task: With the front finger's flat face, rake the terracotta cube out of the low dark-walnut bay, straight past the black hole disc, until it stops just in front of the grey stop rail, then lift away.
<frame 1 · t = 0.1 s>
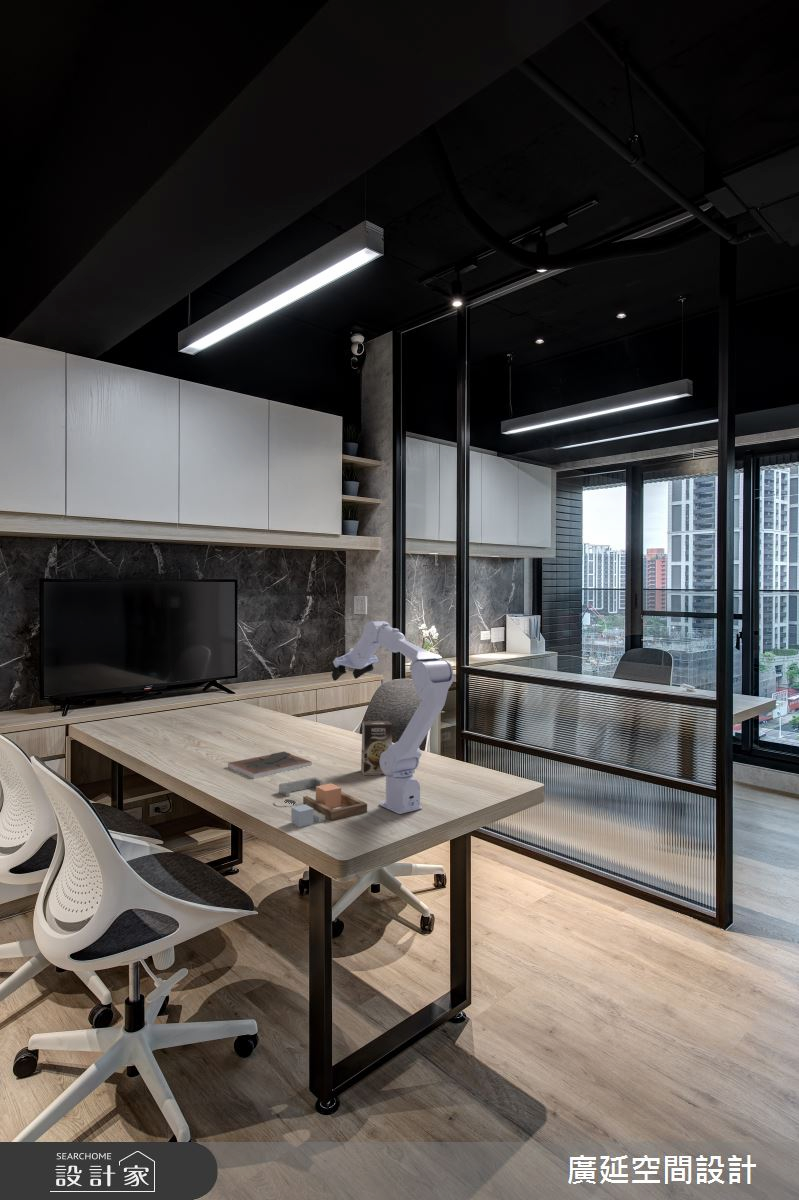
hand: (344, 676, 199), 32 cm above the table, tool tilted 50°, fingers open, 7 cm apart
hole disc: (284, 803, 179), on the table
bay: (334, 808, 176), on the table
coffee box: (376, 772, 210), on the table
steel bar: (309, 816, 170), on the table
slate block: (302, 823, 164), on the table
cube: (328, 805, 178), on the table
picture frame: (270, 769, 214), on the table
stop rail: (298, 789, 191), on the table
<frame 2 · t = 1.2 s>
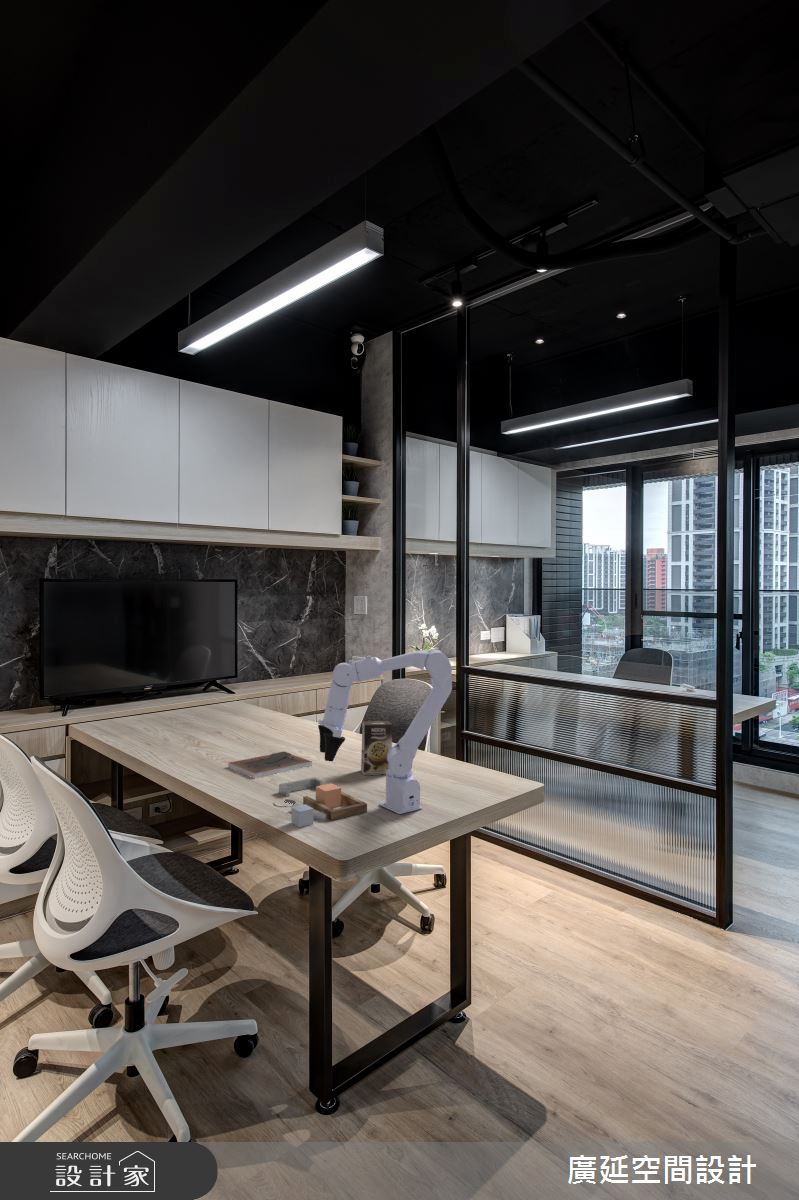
hand: (326, 756, 176), 14 cm above the table, tool pointing down, fingers open, 7 cm apart
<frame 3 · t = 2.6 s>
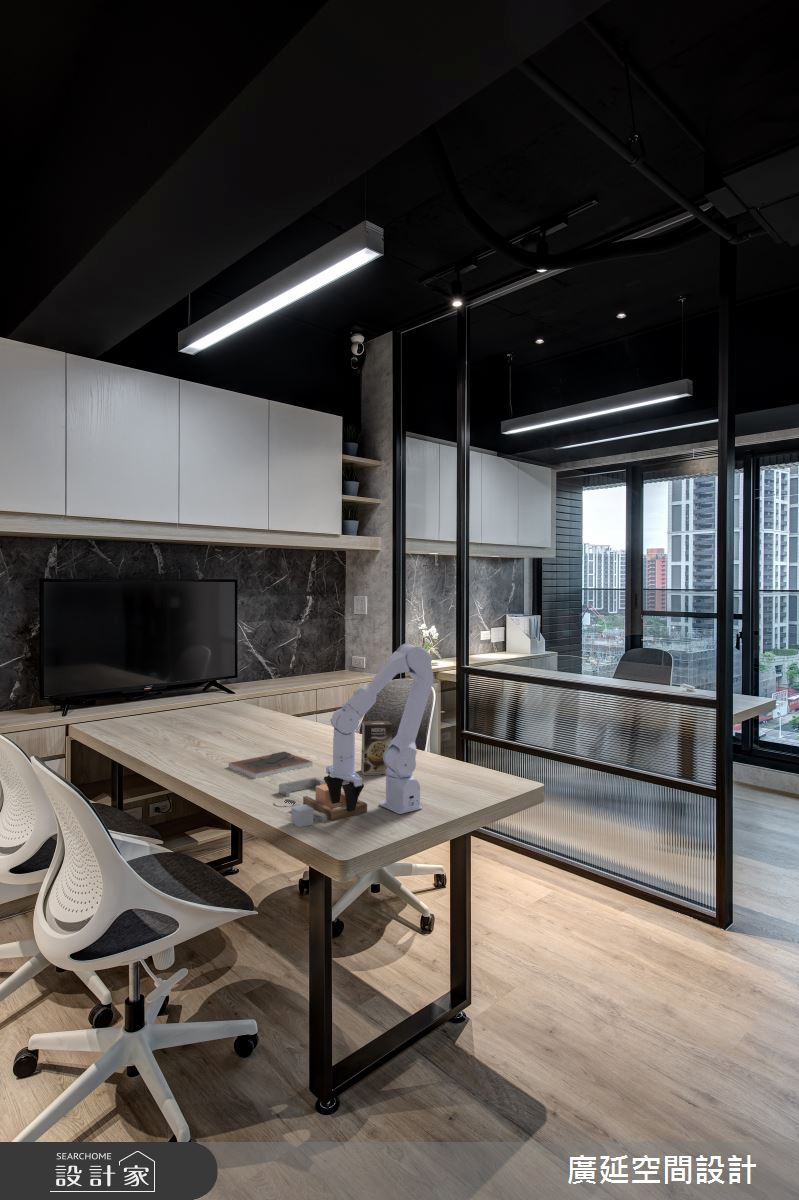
hand: (343, 806, 172), 2 cm above the table, tool pointing down, fingers open, 7 cm apart
cube: (328, 805, 178), on the table, touching gripper
everything else where it was.
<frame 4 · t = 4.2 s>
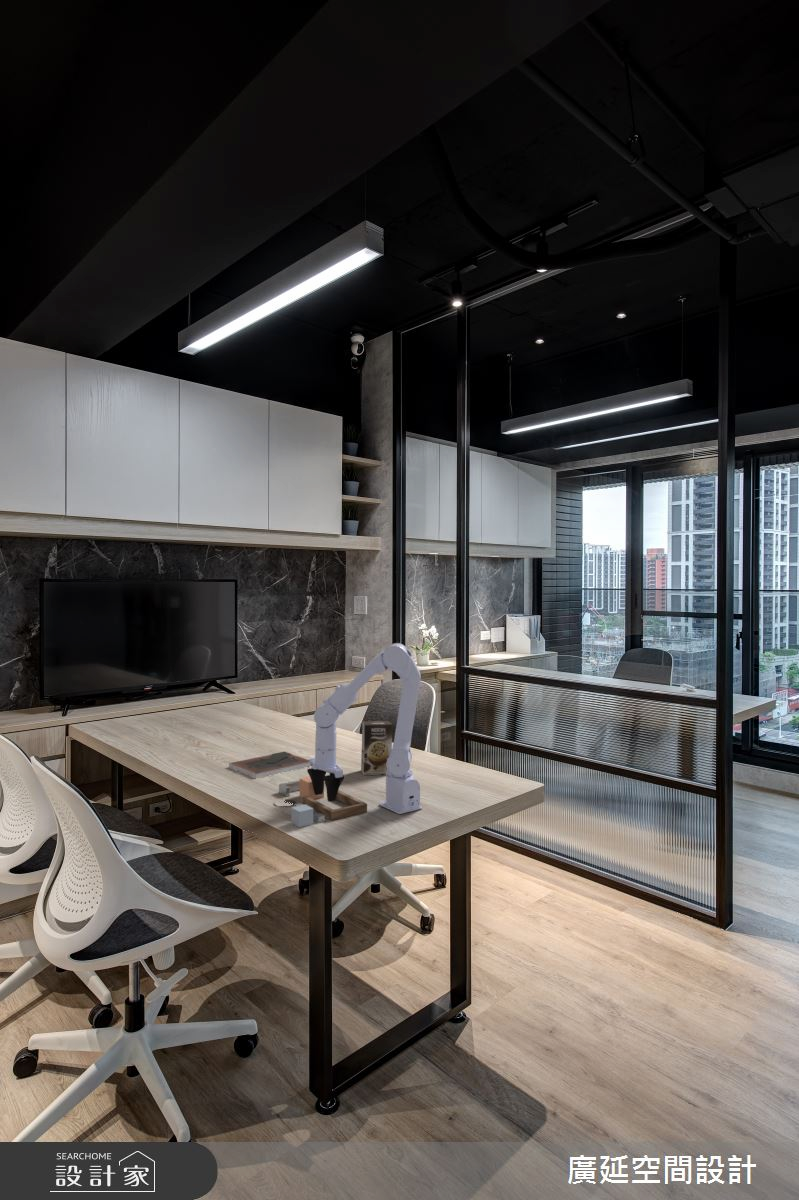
hand: (325, 797, 179), 2 cm above the table, tool pointing down, fingers open, 6 cm apart
cube: (311, 796, 185), on the table, touching gripper
everything else where it was.
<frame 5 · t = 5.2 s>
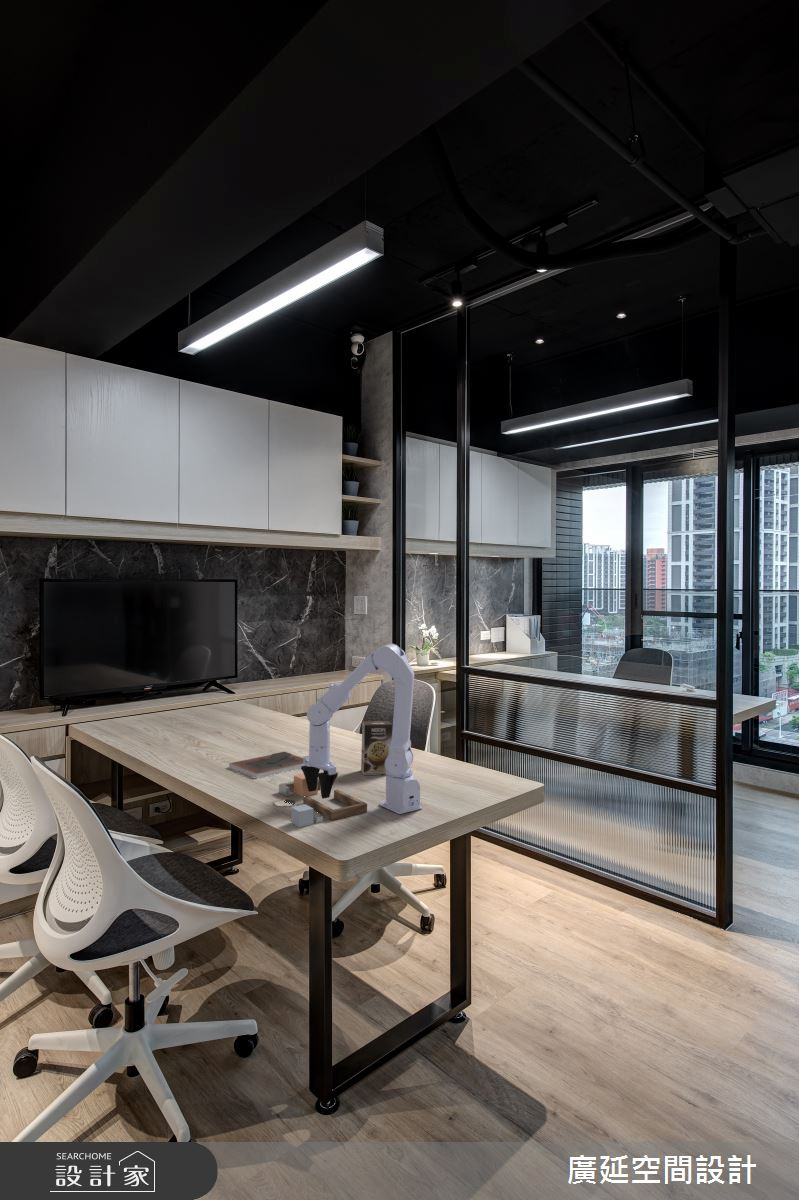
hand: (318, 794, 182), 2 cm above the table, tool pointing down, fingers open, 7 cm apart
cube: (305, 793, 188), on the table, touching gripper
everything else where it was.
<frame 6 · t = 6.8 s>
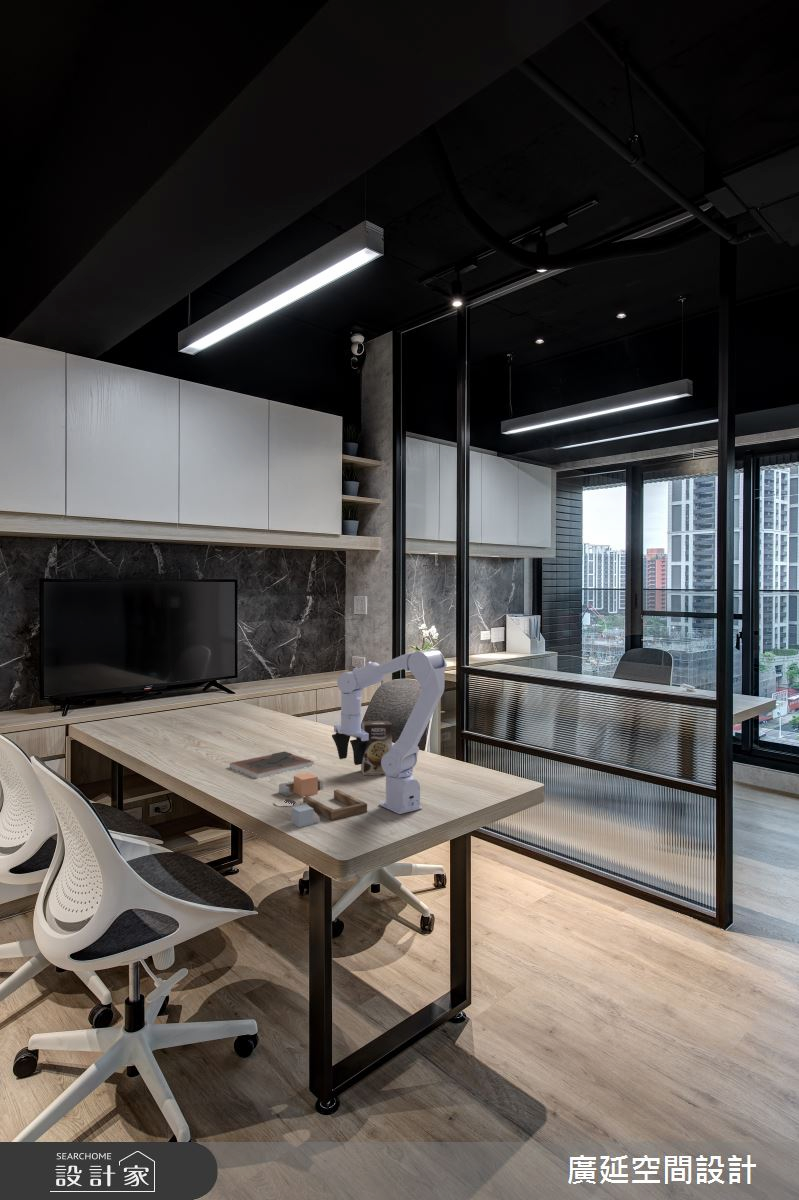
hand: (350, 761, 186), 10 cm above the table, tool pointing down, fingers open, 7 cm apart
cube: (305, 793, 188), on the table
everything else where it was.
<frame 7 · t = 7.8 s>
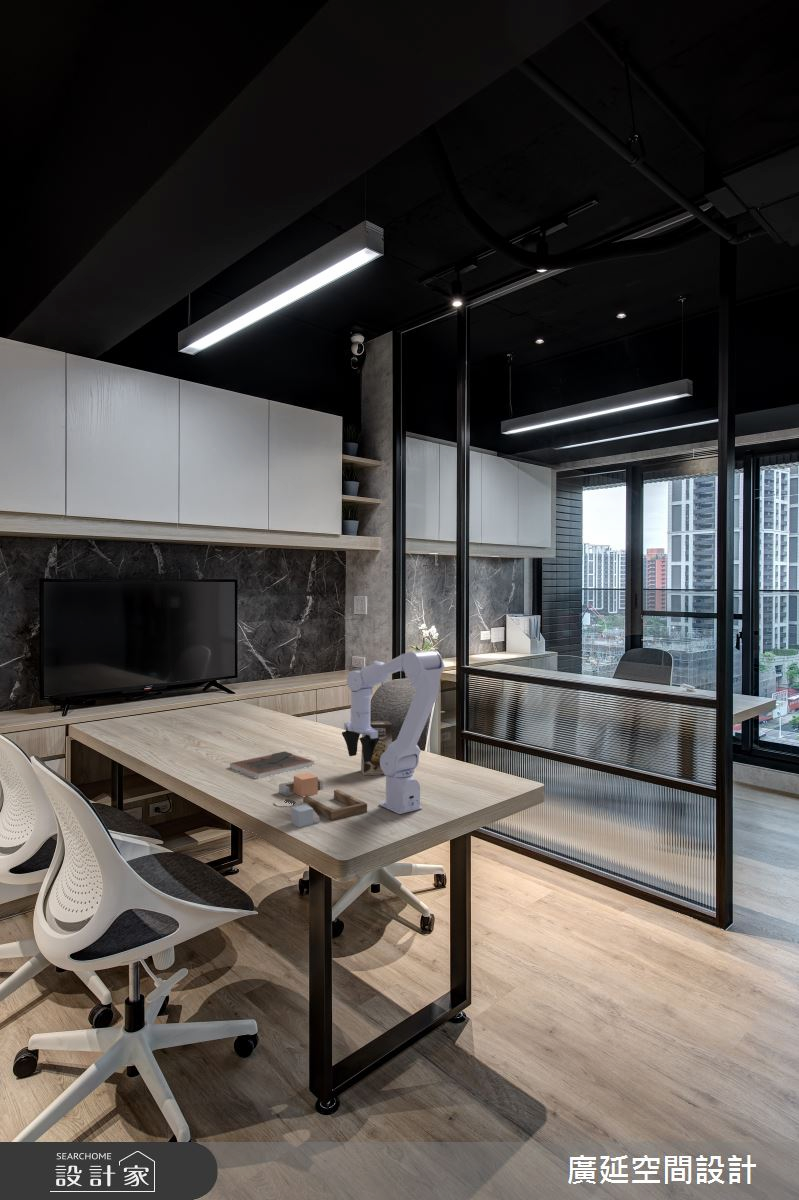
hand: (360, 758, 189), 10 cm above the table, tool pointing down, fingers open, 7 cm apart
nothing on the table moved.
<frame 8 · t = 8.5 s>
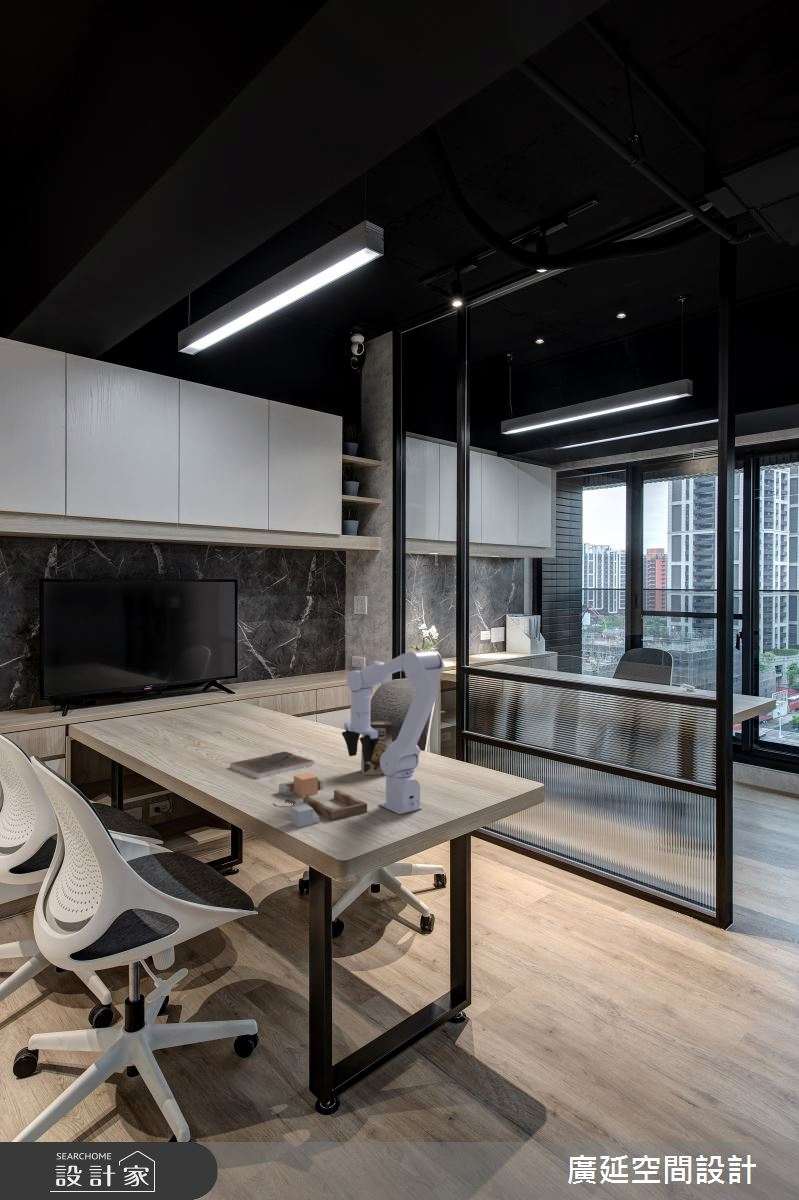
hand: (360, 758, 189), 10 cm above the table, tool pointing down, fingers open, 7 cm apart
nothing on the table moved.
at the end: cube inside the target area on the table beside the stop rail (1.8 cm from its centre), on the table; cube tilted 0°; cube moved 12.5 cm from its start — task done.
